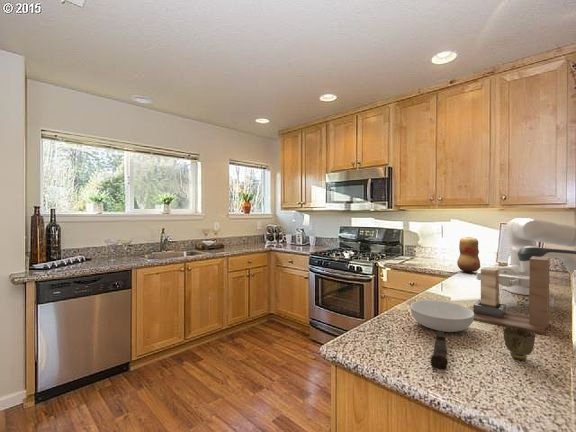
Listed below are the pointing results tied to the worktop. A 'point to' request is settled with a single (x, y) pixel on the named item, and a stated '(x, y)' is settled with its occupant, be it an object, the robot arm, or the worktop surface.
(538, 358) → the worktop surface
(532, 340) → the cup
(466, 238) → the butternut squash
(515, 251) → the robot arm
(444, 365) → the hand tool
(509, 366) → the worktop surface
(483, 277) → the rail bar
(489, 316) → the l-shaped wooden bracket
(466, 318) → the serving bowl
